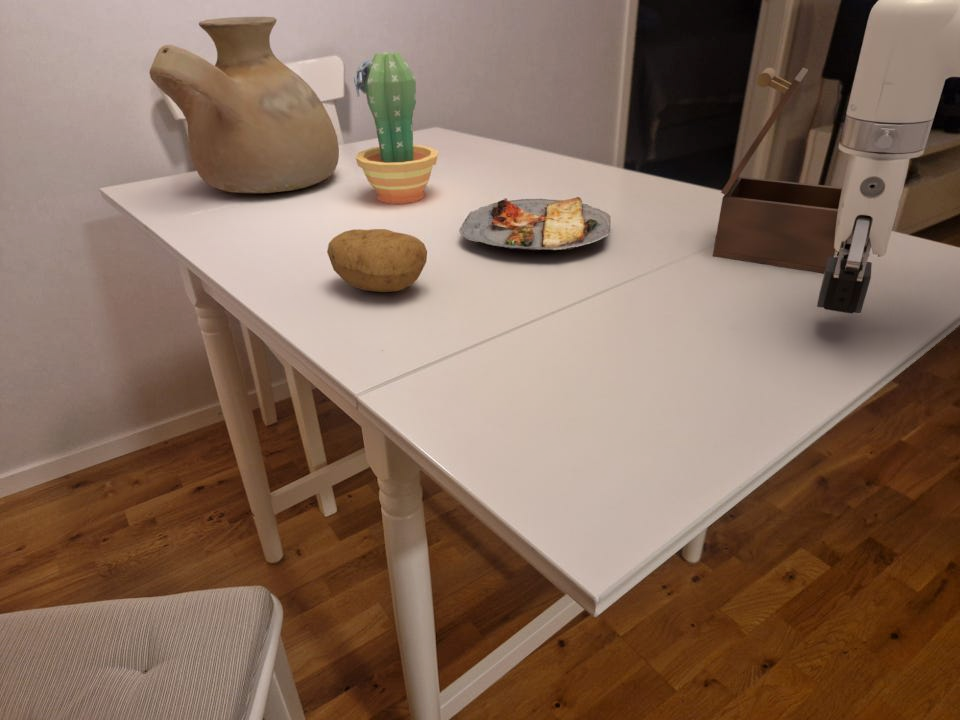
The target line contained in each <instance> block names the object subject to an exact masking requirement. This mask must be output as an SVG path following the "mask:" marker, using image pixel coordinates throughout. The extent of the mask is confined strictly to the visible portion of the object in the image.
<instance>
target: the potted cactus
mask: <svg viewBox="0 0 960 720" xmlns="http://www.w3.org/2000/svg"><path fill="white" fill-rule="evenodd" d="M355 72H356V73H355V74H354V79H353V83H354V86H355V91H356V96H357V97H360V91H361V92H362V93H363V95H366V102H367V105H368V109H369V110H370V113H371V115H372V117H373V120H374V125H375V131H376V135H377V141H378V146H374V147H370V148H368V149H365V150H362V151H359V152H358V153H357V154H356V156H355V162H356V164H357V166H358V167H359V168H361V169H362V171H363V173H364V176H365V177H366V181H368V183H369V184H370V186H371V187H372V188H373V189H374V190H375V192H377V198H376V199H377V200H378V201H380V202H381V203H385V204H391V205H395V204H397V205H399V204H401V205H403V204H404V205H405V204H410V203H415V202H418V201H420V200H423V199H424V197H425V192H424V190H425V187H426V186H427V184H428V183H429V181H430V178H431V174H432V170H433V168H434V167H433V166H435V165H437V161H438V155H439V150H437V149H436V148H434V147H431V146H428V145H418V144H414V132H413V131H414V130H413V129H414V128H413V116H414V114H415V113H414V112H415V108H416V104H417V87H416V86H417V84H416V83H417V80H416V77H415V75H414V72H413V71H412V68H411V67H410V66H409V65H408V63H407V62H406V60H405V59H404V58H403V56H402V55H401V53H400V52H398V51H394V52H392V53H391V52H390V53H389V52H388V51H383V53H378V52H375V54H374V56H373V57H372V59H371V60H370V59H366V60H364V61H363V62H361V63H360V65H359V66H358V68H357V70H356V71H355Z"/></svg>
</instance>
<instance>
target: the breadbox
mask: <svg viewBox="0 0 960 720" xmlns="http://www.w3.org/2000/svg"><path fill="white" fill-rule="evenodd" d="M842 187H843V186H842ZM842 187H841V186H832V185H824V184H813V183H804V182H795V181H793V182H792V181H784V180H775V179H765V178H756V177H746V176H738V178H737V179H736V181H735V182H734V184H733V185H732V187H731V188H730V190H729V191H728V193H727V194H726V195H724V194H723V196H722V199H721V205H720V211H719V216H718V224H717V229H716V233H715V234H716V235H715V240H714V246H713V252H712V256H713V257H718V258H724V259H730V260H738V261H744V262H750V263H756V264H764V265H770V266H777V267H783V268H790V269H796V270H802V271H808V272H809V271H810V272H815V273H822V274H824V272H825V268H826V264H827V260H828V257H835V254H836V252H837V251H836V250H835V248H834V241H835V230H836V221H837V213H838V207H839V202H840V196H841V192H842Z"/></svg>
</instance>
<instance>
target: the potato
mask: <svg viewBox="0 0 960 720" xmlns="http://www.w3.org/2000/svg"><path fill="white" fill-rule="evenodd" d="M326 252H327V256H328V258H329V262H330V265H331V266H332V269H333V271H334V272H335V273H336V274H337V275H338V276H339V277H340V278H341V279H342V280H343V281H344V282H345V283H346V284H347V285H349V286H352V287H353V288H357V289H359V290H362V291H363V290H364V291H370V292H376V293H377V292H378V293H391V292H398V291H399V292H400V291H403V290H405V289H407V288H410V287H411V286H412V285H413V284H414V283H415V282H417V281H418V279H419V277H420V275H421V273H422V271H423V270H424V267H425V265H426V263H427V257H428V249H427V248H426V245H425V243H424V242H423V241H422V240H420V238H418V237H416V236H414V235H411V234H408V233H403V232H398V231H397V232H396V231H393V230H389V229H386V228H374V229H350V230H346V231H343V232H341V233H339V234H337V235H336V236H334V237H332V239H331V240H330V241H329V242H328V244H327V251H326Z"/></svg>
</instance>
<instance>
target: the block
mask: <svg viewBox="0 0 960 720" xmlns="http://www.w3.org/2000/svg"><path fill="white" fill-rule="evenodd" d="M834 257H835V256H834ZM834 257H828V260H827V264H826V268H825V272H824V273H823V277H822V281H821V285H820V289H819V294H818V298H817V304H816V307H817V308H821V309H824V308H823V305H824V301H825V297H826V293H827V289H828V285H829V281H830V277H831V274H833V275H834V272H835V268H836V263H837V259H838V257H837V258H834ZM844 260H847V259H843V261H844ZM872 267H873V263H872V262H871V261H867V264H866V268H865V272H864V275H863V279H864V283H863V286H862V290H861V294H860V297H859V301H858V304H857V308H856V311H855V312H854V313H853V314H861V313H862V310H863V306H864V304H865V301H866V300H865V299H866V297H867V293H868V289H869V287H870V286H869V285H870V283H871V279H872Z"/></svg>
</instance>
